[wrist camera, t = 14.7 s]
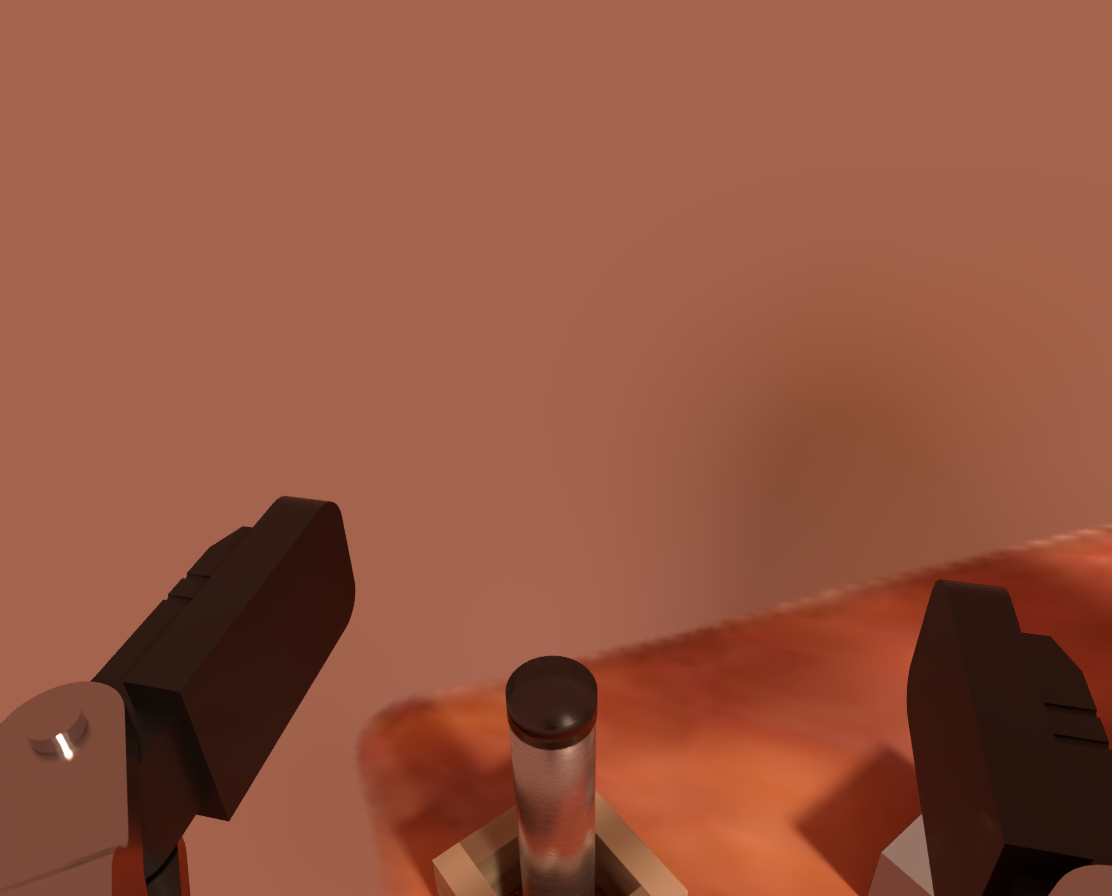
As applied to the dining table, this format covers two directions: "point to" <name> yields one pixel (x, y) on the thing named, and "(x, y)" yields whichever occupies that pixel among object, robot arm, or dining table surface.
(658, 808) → the dining table surface
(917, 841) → the block
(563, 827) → the pin
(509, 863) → the wooden square box frame
